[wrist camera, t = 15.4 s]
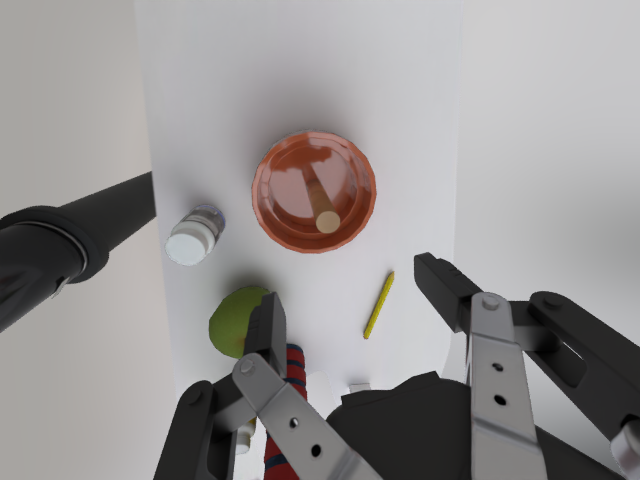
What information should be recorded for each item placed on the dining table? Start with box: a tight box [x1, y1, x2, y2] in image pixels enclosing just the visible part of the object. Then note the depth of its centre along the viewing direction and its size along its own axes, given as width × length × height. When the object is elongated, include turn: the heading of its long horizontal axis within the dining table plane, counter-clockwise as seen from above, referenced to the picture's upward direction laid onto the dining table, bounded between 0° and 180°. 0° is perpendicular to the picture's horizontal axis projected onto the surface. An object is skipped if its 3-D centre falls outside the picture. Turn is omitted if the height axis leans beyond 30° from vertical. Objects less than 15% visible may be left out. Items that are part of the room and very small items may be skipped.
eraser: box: [349, 384, 371, 393], centre depth 54 cm, size 1×5×4 cm, turn 84°
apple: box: [209, 287, 270, 359], centre depth 35 cm, size 11×10×10 cm
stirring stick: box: [306, 179, 340, 233], centre depth 26 cm, size 2×2×12 cm
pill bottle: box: [165, 205, 225, 266], centre depth 28 cm, size 5×5×8 cm
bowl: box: [252, 129, 377, 254], centre depth 29 cm, size 14×14×6 cm
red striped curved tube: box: [264, 344, 307, 480], centre depth 40 cm, size 25×7×25 cm, turn 172°
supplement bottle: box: [235, 416, 257, 455], centre depth 47 cm, size 5×5×10 cm
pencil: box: [363, 272, 394, 339], centre depth 43 cm, size 16×1×1 cm, turn 168°
